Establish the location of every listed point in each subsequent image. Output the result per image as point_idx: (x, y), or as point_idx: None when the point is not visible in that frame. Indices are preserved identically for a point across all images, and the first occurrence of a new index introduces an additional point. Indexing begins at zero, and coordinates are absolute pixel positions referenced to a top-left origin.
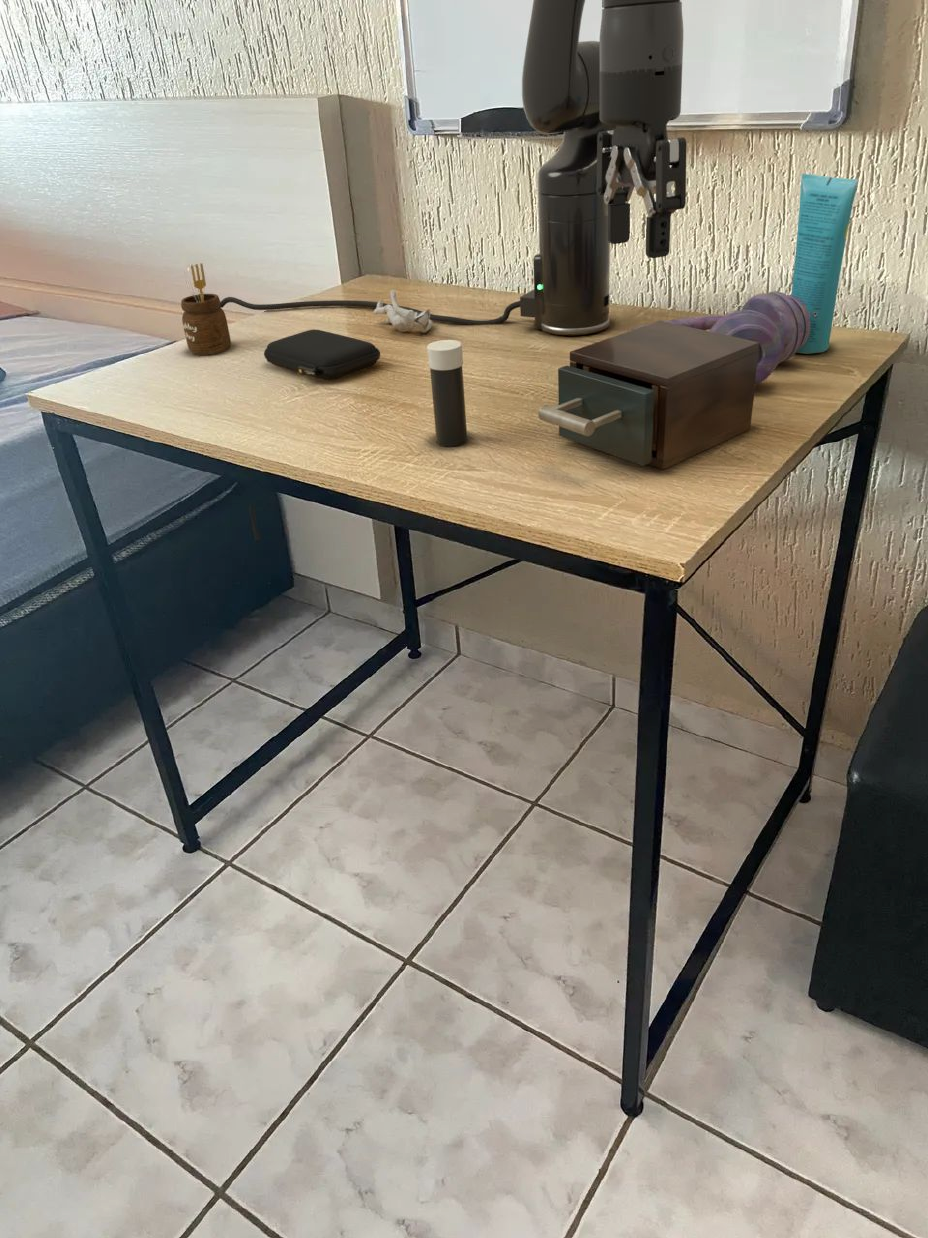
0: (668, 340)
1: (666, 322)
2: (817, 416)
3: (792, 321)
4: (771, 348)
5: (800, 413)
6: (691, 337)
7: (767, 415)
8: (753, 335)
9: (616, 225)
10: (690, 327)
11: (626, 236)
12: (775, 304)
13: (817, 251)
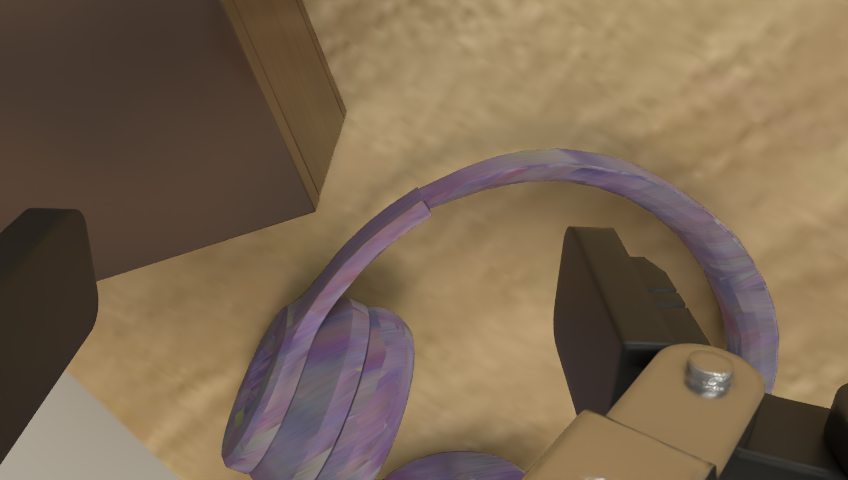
0: (51, 107)
1: (278, 217)
2: (84, 372)
3: None
4: (226, 438)
5: (115, 354)
6: (55, 194)
7: (131, 291)
8: (240, 428)
9: (583, 308)
10: (177, 252)
11: (559, 328)
12: None
13: None
